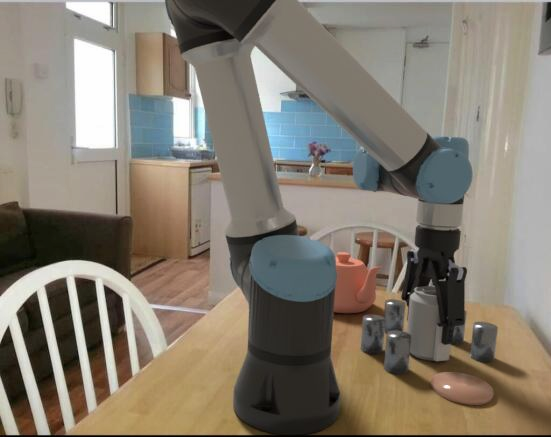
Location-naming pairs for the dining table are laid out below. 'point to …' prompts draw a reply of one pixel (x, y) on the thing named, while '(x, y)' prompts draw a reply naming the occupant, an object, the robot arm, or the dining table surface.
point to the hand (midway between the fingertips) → (426, 350)
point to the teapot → (353, 285)
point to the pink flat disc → (462, 388)
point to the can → (423, 322)
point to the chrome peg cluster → (401, 341)
